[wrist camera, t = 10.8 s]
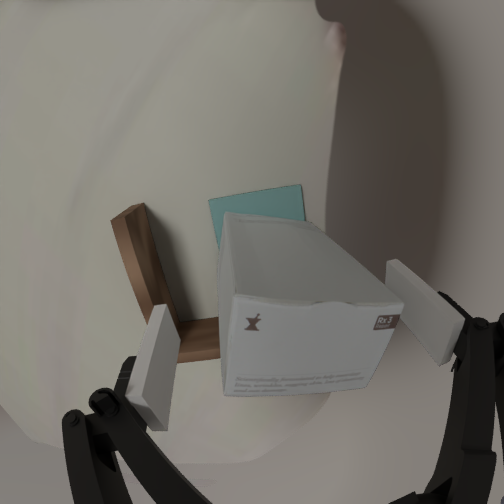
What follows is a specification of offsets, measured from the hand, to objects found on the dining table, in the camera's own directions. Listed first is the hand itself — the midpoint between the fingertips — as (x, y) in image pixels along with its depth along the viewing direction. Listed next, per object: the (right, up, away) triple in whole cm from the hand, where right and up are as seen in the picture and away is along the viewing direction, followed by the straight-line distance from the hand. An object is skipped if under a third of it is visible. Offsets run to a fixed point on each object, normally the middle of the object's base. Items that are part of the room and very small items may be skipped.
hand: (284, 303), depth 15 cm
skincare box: (0, +4, +10) cm, 11 cm away
